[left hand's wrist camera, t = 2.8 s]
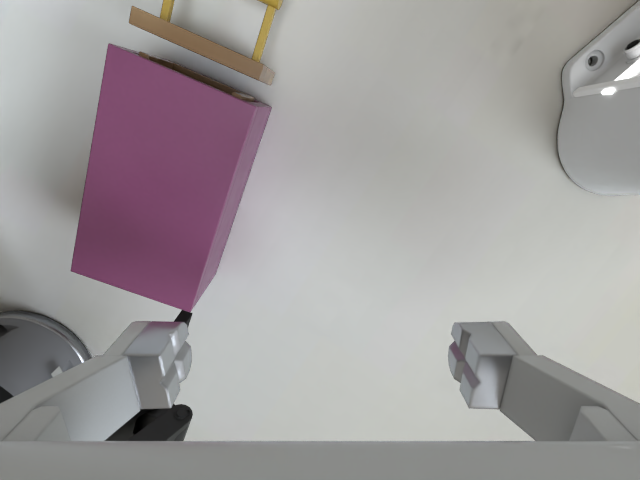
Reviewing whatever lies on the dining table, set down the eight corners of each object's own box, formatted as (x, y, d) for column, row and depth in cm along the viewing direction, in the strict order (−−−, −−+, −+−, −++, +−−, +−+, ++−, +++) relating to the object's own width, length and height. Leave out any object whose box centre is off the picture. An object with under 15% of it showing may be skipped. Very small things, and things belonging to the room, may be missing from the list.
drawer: (183, -50, 29) (148, -89, 23) (297, 4, 30) (290, -20, 24) (127, 210, 37) (91, 229, 31) (218, 244, 38) (199, 268, 33)
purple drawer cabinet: (159, 58, 33) (107, 42, 25) (271, 107, 34) (256, 106, 26) (119, 239, 39) (70, 271, 32) (215, 274, 41) (190, 312, 33)
